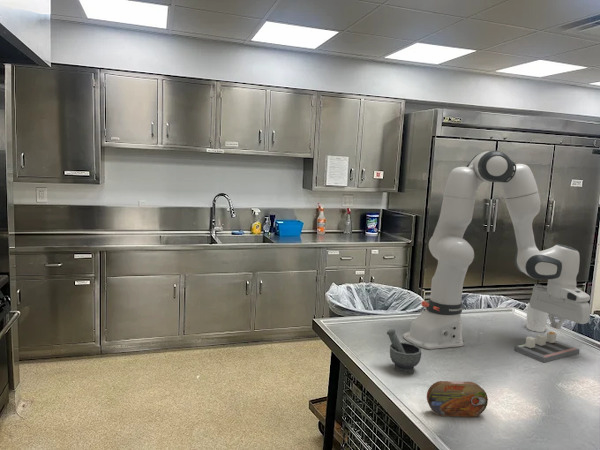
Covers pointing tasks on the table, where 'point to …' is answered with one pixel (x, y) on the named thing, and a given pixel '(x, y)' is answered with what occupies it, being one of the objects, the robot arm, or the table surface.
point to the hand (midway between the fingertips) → (555, 327)
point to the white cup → (536, 319)
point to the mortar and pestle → (403, 354)
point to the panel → (548, 351)
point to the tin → (457, 398)
